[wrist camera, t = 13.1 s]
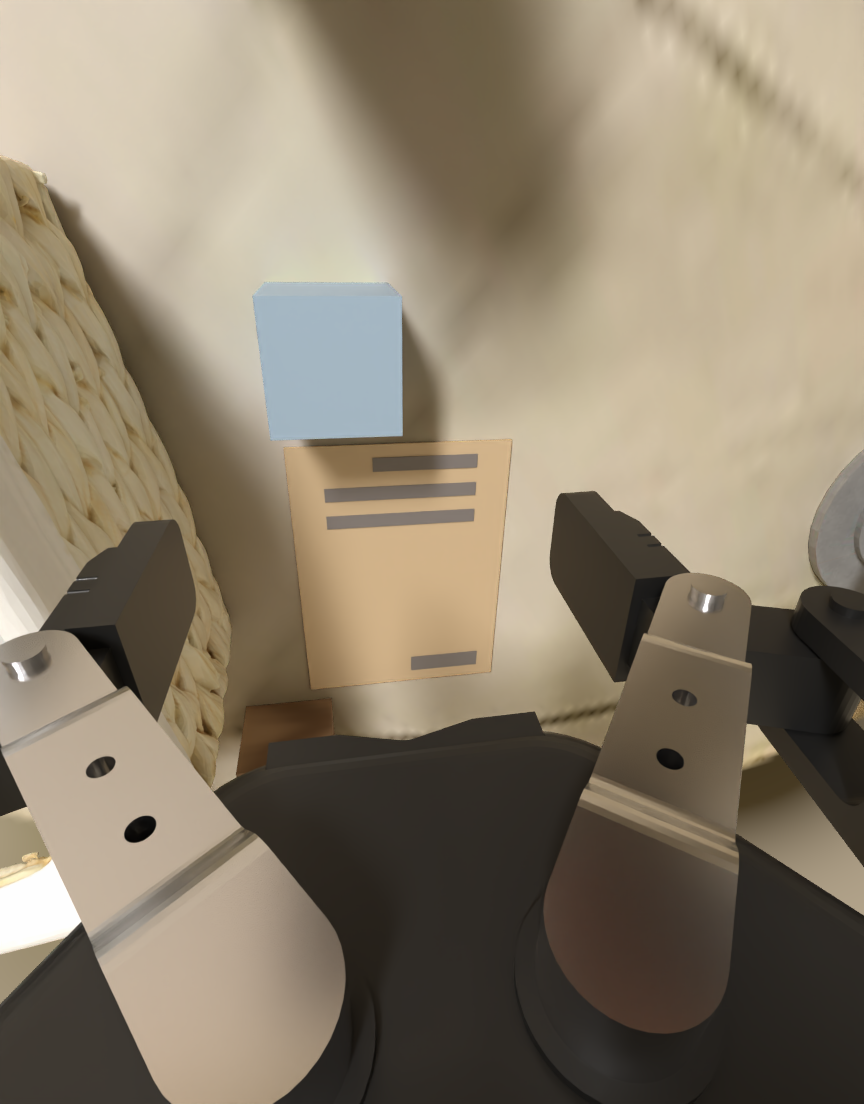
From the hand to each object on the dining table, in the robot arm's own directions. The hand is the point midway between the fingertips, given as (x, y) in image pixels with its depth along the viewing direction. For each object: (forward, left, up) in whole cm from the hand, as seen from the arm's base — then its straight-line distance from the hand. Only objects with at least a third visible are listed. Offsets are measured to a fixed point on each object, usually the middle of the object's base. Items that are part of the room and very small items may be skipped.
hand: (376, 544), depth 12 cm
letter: (-2, +11, -16) cm, 19 cm away
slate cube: (+1, -1, -16) cm, 16 cm away
